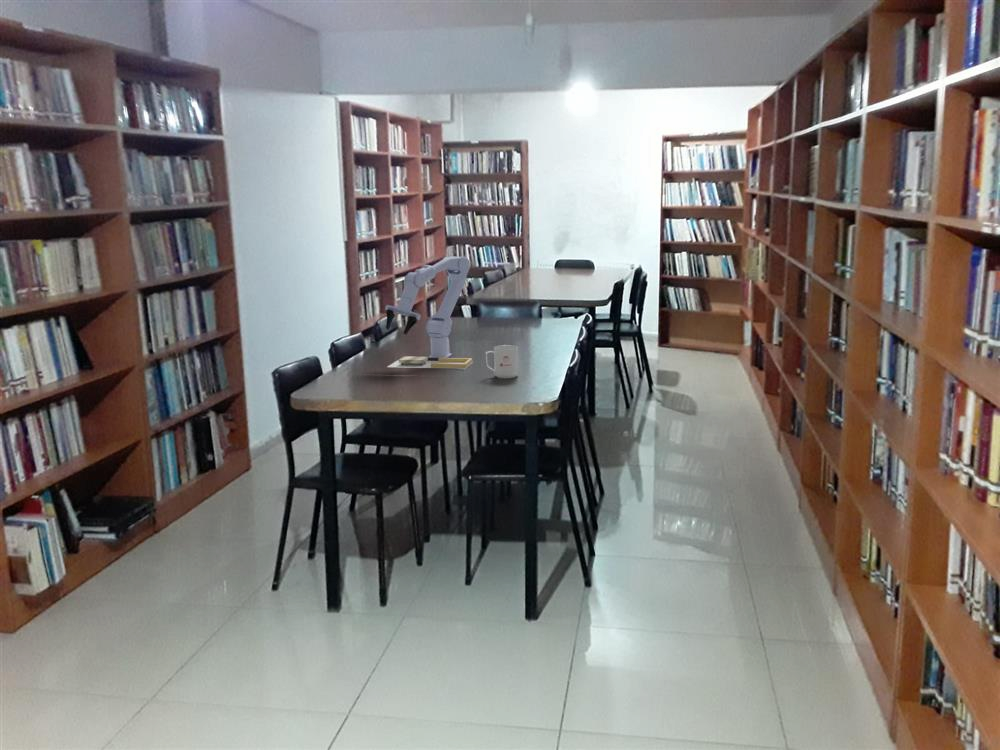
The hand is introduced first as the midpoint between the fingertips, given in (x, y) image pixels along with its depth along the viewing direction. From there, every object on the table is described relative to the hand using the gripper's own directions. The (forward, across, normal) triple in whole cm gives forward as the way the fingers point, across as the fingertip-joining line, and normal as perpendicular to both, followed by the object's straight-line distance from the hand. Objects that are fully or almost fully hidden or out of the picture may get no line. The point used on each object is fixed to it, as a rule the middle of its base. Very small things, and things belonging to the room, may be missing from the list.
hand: (396, 331), depth 349 cm
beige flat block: (+9, +9, +8) cm, 15 cm away
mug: (+8, +49, -10) cm, 50 cm away
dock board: (+8, +16, +8) cm, 19 cm away
